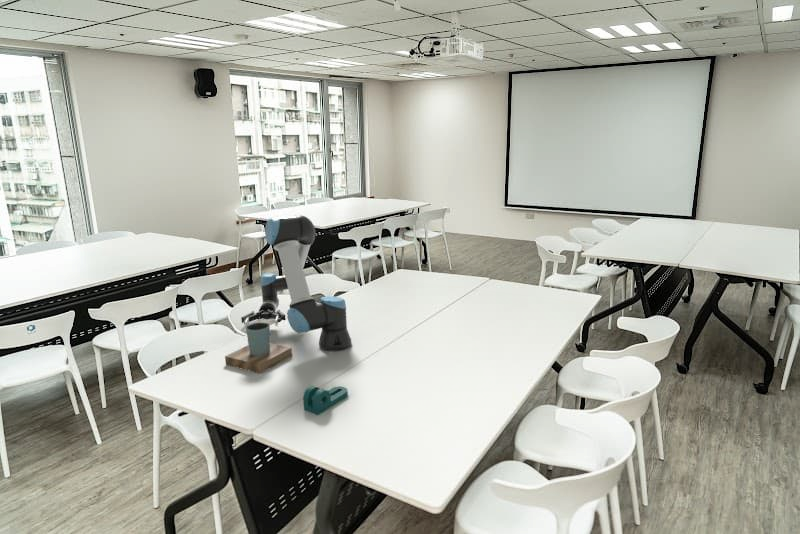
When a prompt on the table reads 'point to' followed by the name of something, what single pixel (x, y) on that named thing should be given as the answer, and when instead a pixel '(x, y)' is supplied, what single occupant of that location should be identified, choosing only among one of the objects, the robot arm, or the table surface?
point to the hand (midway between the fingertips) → (260, 324)
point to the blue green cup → (258, 338)
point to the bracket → (322, 398)
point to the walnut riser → (258, 358)
